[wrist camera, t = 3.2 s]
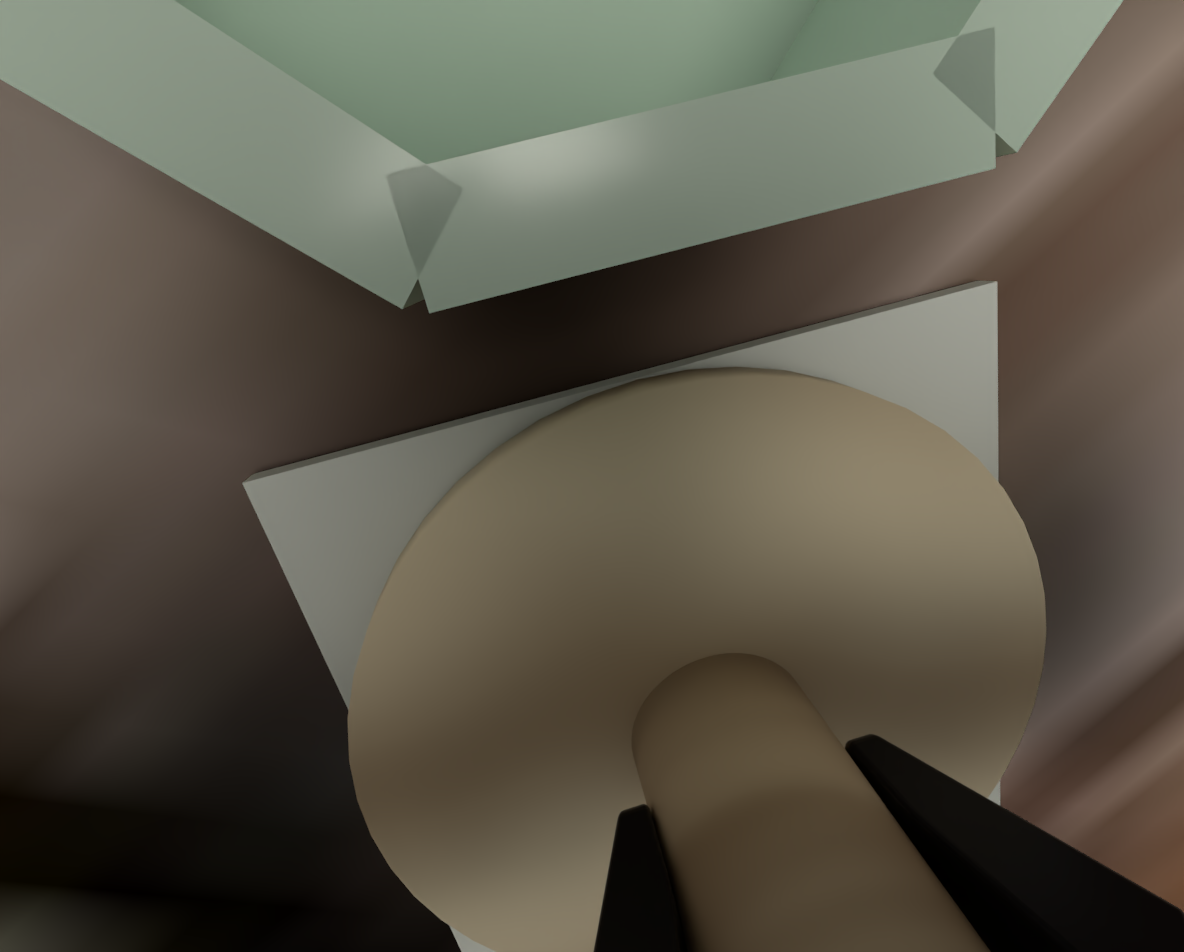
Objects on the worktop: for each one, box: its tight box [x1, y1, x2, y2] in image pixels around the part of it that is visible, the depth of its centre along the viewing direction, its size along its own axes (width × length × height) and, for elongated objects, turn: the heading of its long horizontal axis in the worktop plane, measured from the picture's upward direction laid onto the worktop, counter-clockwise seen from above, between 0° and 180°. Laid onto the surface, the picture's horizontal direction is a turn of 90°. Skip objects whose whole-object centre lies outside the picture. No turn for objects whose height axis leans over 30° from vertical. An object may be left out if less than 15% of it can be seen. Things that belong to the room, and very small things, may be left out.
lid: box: [348, 367, 1047, 952], centre depth 8 cm, size 11×11×6 cm
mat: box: [242, 281, 1000, 952], centre depth 11 cm, size 11×11×1 cm
